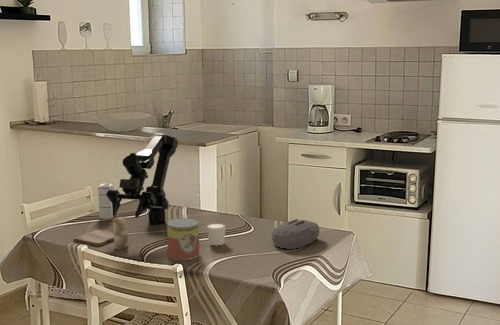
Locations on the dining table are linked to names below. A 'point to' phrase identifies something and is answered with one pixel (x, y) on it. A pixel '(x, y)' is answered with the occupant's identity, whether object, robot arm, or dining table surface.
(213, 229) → the white short cylinder
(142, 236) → the dining table surface
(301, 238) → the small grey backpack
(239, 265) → the dining table surface
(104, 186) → the white plastic bottle
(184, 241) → the canned food
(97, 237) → the walnut board
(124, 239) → the birch peg
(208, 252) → the dining table surface
